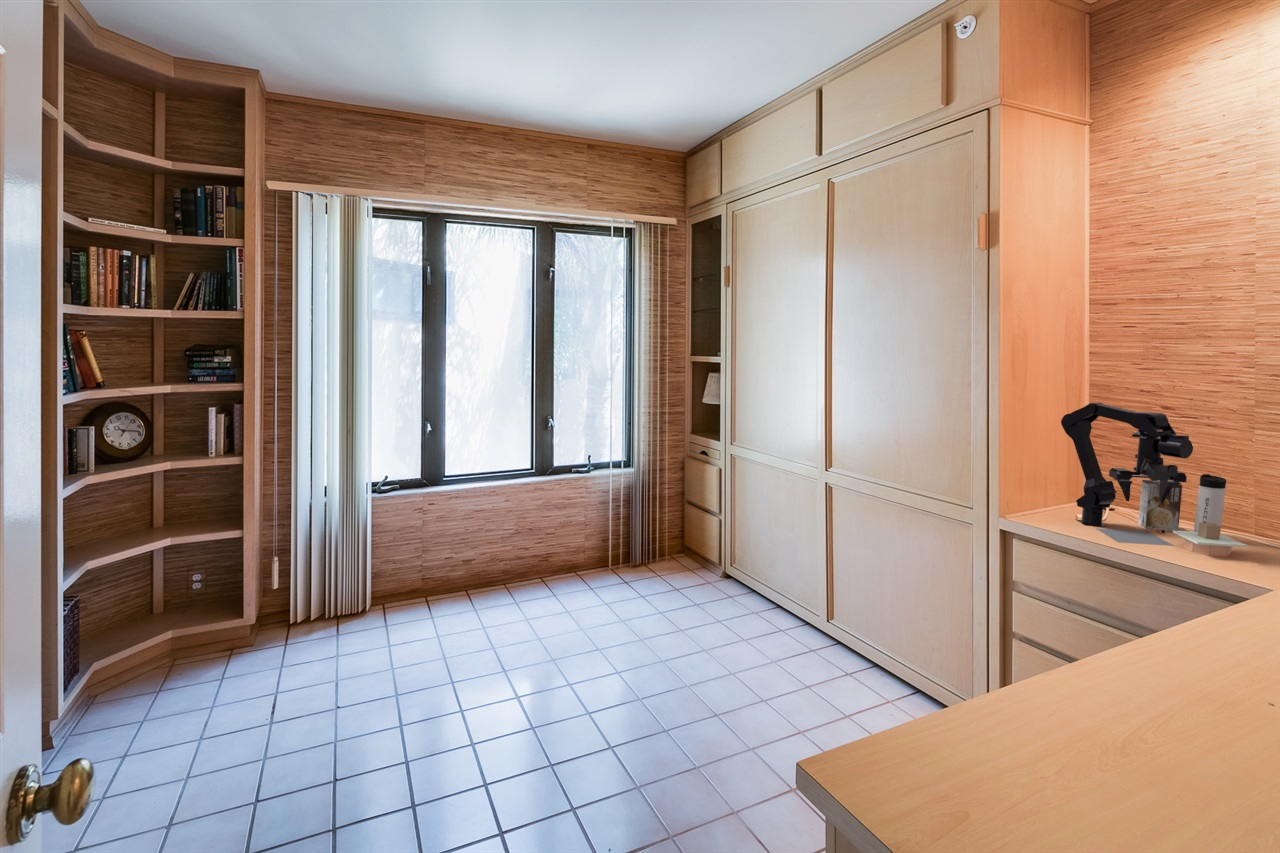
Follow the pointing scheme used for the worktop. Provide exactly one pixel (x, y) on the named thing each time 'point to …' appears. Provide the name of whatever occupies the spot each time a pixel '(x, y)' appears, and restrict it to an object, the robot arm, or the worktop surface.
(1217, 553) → the bowl
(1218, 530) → the lid
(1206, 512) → the travel mug
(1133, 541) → the mat
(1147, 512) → the coffee box
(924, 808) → the worktop surface
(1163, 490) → the robot arm
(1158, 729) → the worktop surface
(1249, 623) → the worktop surface
